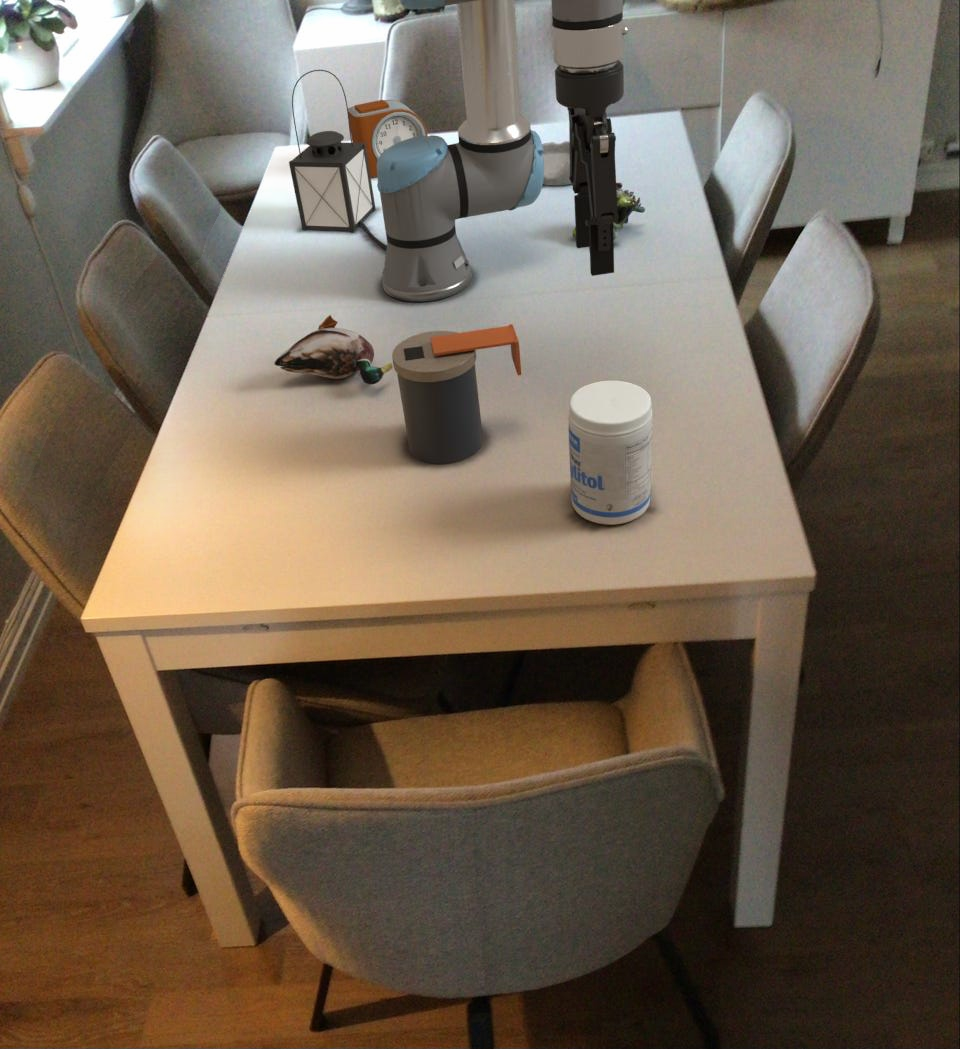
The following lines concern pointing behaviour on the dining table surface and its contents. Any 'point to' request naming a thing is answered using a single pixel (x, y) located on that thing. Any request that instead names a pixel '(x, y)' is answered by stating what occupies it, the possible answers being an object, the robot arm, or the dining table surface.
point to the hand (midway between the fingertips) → (594, 258)
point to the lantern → (332, 181)
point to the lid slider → (479, 342)
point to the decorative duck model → (332, 354)
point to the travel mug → (438, 400)
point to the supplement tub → (610, 451)
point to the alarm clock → (383, 127)
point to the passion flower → (623, 208)
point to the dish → (556, 163)
